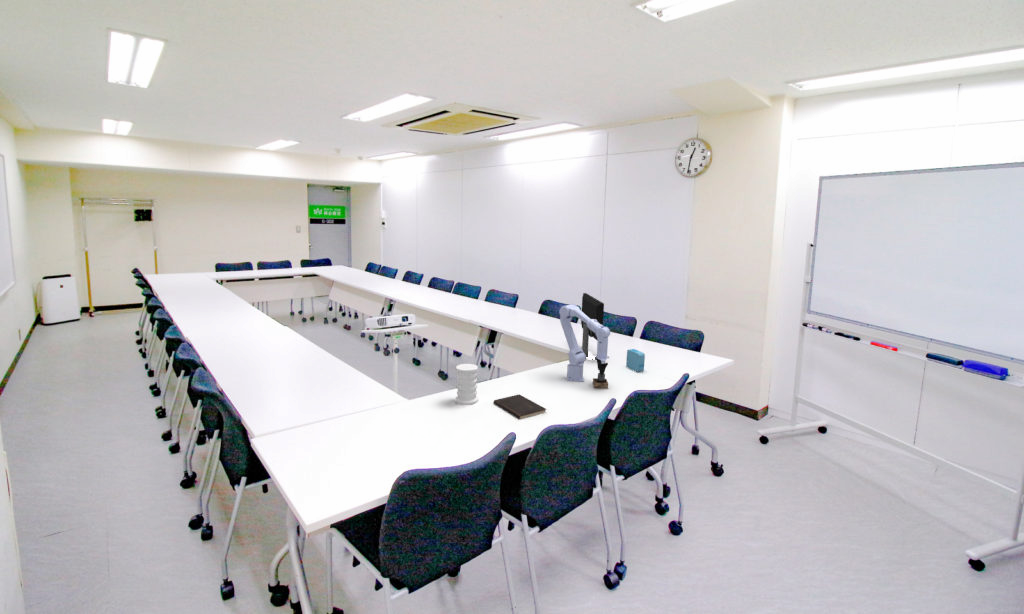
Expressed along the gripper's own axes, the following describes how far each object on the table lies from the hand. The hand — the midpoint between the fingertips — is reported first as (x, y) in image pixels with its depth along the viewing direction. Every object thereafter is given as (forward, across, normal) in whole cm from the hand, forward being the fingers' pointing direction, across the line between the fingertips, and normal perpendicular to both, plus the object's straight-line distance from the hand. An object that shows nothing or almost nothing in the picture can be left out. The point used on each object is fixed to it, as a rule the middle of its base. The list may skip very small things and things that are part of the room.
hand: (600, 372), depth 275 cm
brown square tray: (+8, 0, 0) cm, 8 cm away
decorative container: (+8, -29, +71) cm, 78 cm away
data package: (+8, +32, -26) cm, 42 cm away
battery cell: (+7, 0, 0) cm, 7 cm away
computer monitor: (+8, +60, 0) cm, 60 cm away
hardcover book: (+9, -36, +44) cm, 58 cm away
